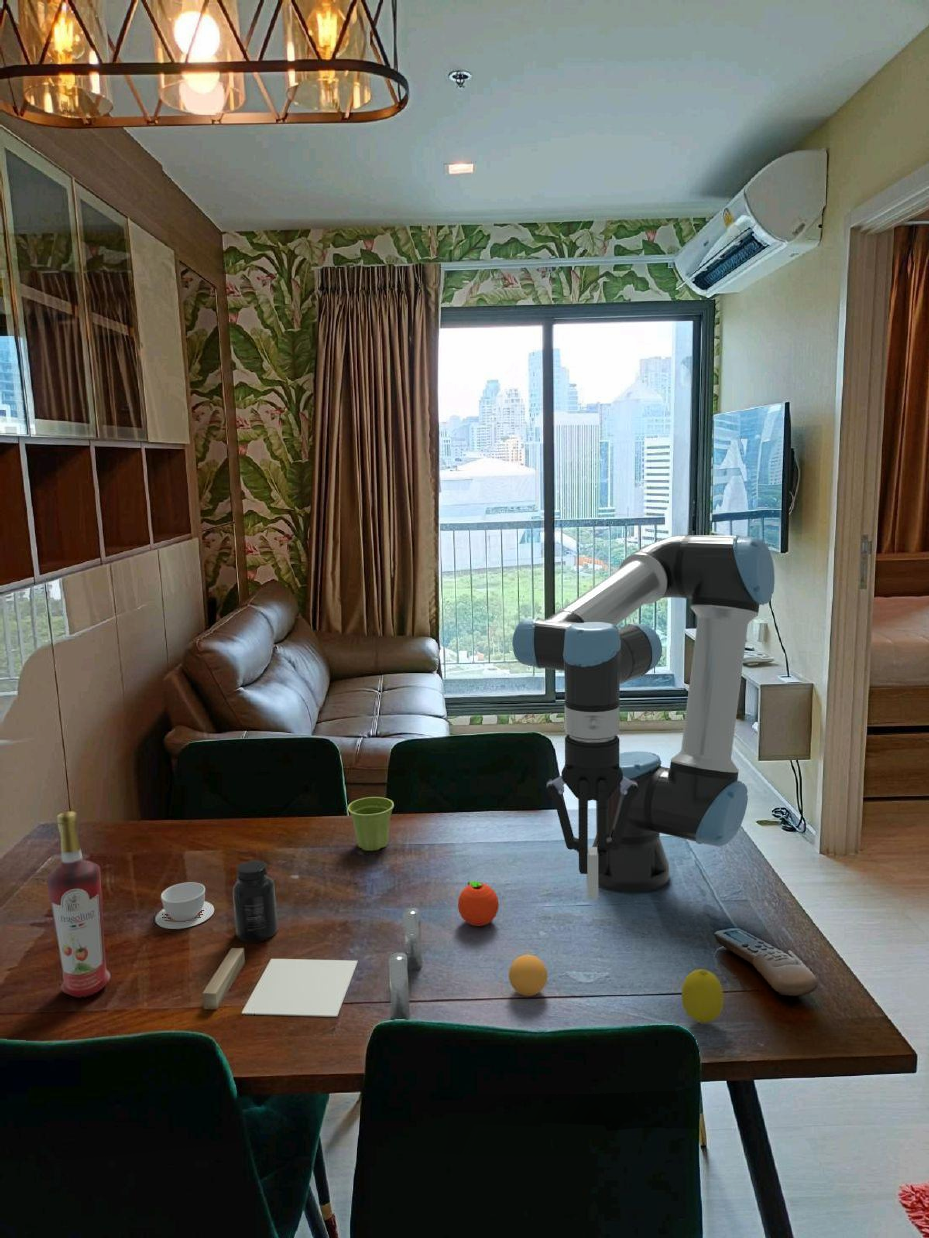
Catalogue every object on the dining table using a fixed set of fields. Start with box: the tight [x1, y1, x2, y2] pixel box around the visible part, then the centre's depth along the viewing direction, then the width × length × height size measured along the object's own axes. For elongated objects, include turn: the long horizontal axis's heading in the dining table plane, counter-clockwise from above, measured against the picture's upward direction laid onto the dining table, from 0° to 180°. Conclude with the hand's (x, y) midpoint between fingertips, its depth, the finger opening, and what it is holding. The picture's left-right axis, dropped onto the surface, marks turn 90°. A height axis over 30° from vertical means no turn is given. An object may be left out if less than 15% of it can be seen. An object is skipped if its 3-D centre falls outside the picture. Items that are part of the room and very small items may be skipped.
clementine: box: [457, 880, 500, 927], centre depth 148 cm, size 8×7×7 cm
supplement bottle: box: [232, 860, 278, 943], centre depth 146 cm, size 7×7×12 cm
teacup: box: [154, 881, 215, 930], centre depth 153 cm, size 10×10×5 cm
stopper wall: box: [202, 947, 246, 1010], centre depth 132 cm, size 2×12×2 cm, turn 175°
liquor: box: [46, 811, 111, 999], centre depth 130 cm, size 7×7×28 cm
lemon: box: [681, 968, 725, 1025], centre depth 119 cm, size 6×6×8 cm
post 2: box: [402, 907, 423, 971], centre depth 135 cm, size 3×3×9 cm
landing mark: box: [241, 958, 359, 1018], centre depth 131 cm, size 14×14×1 cm
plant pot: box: [347, 796, 395, 852], centre depth 180 cm, size 9×9×9 cm
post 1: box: [388, 952, 411, 1021], centre depth 123 cm, size 3×3×9 cm
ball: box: [508, 954, 548, 997], centre depth 128 cm, size 6×6×6 cm
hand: (592, 893), depth 124 cm, fingers closed
